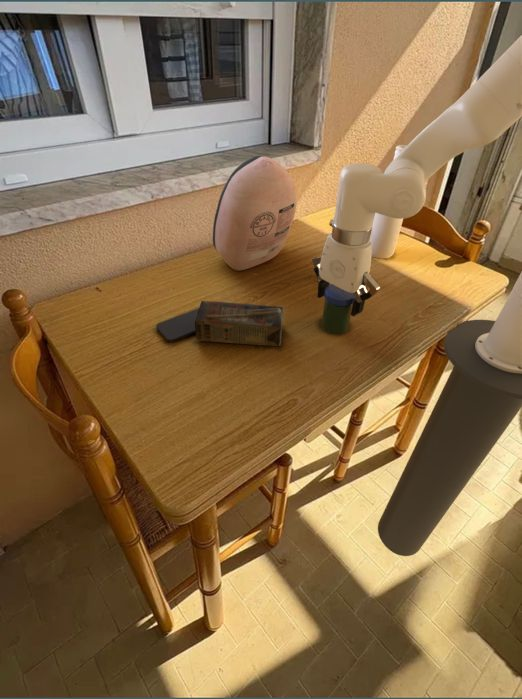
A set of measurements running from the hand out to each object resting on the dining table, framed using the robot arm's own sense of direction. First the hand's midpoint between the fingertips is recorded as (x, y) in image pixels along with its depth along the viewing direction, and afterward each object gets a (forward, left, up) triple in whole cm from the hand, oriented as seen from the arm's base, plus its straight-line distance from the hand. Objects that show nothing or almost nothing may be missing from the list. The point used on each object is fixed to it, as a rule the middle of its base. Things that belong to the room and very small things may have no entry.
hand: (338, 304), depth 87 cm
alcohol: (+3, -42, -6) cm, 43 cm away
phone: (+29, +18, -6) cm, 35 cm away
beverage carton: (+17, +15, -6) cm, 23 cm away
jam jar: (0, 0, -6) cm, 6 cm away
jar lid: (0, 0, +3) cm, 3 cm away
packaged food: (+32, -15, -6) cm, 36 cm away
